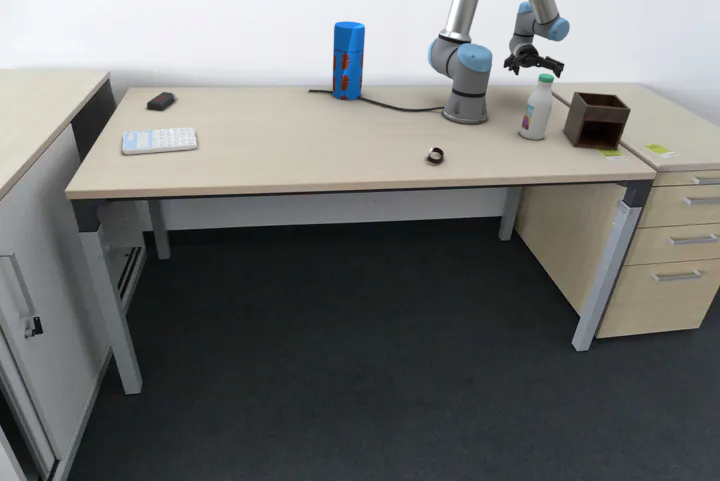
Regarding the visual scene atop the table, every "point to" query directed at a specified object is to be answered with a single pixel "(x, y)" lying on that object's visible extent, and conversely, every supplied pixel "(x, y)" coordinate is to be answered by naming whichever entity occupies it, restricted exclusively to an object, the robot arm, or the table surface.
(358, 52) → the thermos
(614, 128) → the shelf unit
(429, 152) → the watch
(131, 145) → the calculator
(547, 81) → the milk bottle
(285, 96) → the table surface
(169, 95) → the usb drive
